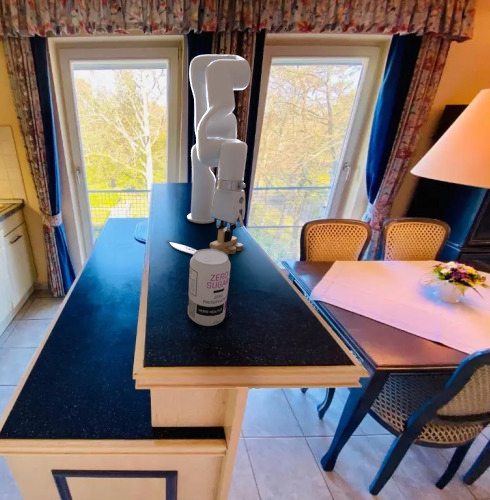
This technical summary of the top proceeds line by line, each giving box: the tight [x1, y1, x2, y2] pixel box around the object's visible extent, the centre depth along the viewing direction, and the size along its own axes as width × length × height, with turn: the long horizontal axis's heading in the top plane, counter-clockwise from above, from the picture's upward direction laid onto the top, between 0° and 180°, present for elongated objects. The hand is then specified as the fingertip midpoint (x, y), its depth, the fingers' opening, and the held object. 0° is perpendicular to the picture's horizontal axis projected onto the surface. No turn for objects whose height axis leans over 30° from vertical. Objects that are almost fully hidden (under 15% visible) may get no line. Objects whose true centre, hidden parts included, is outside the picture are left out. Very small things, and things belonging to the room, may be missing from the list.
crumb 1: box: [219, 249, 229, 257], centre depth 90 cm, size 3×3×2 cm
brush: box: [209, 226, 239, 250], centre depth 93 cm, size 11×3×7 cm, turn 129°
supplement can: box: [187, 248, 232, 327], centre depth 60 cm, size 8×8×15 cm
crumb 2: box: [233, 242, 244, 252], centre depth 94 cm, size 3×3×2 cm
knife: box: [169, 241, 231, 279], centre depth 88 cm, size 30×2×8 cm
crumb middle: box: [226, 246, 237, 255], centre depth 92 cm, size 3×3×2 cm
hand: (224, 239), depth 93 cm, fingers closed on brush, 2 cm apart
